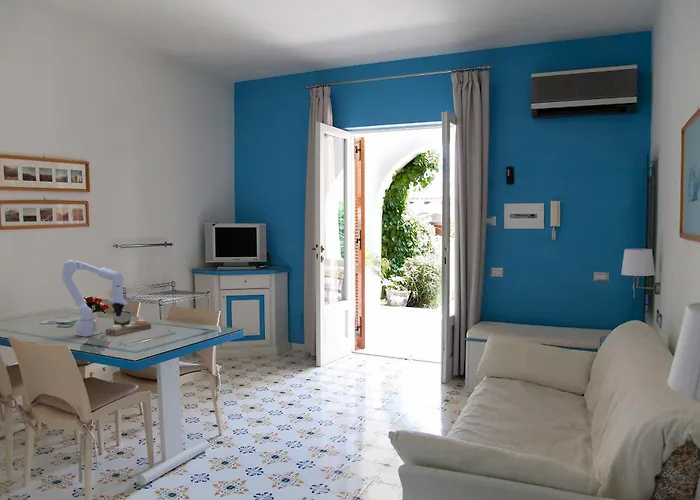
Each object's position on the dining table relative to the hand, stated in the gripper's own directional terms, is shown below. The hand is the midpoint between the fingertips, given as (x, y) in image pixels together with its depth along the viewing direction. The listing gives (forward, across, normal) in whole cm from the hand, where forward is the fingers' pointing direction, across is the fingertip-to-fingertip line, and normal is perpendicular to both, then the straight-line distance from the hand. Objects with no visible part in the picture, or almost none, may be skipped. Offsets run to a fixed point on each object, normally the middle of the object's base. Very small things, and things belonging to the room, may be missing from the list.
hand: (118, 316), depth 333 cm
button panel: (+9, -4, -4) cm, 11 cm away
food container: (+10, +14, -14) cm, 21 cm away
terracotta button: (+8, -4, -12) cm, 15 cm away
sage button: (+9, -4, -4) cm, 11 cm away
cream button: (+8, -4, +5) cm, 10 cm away
